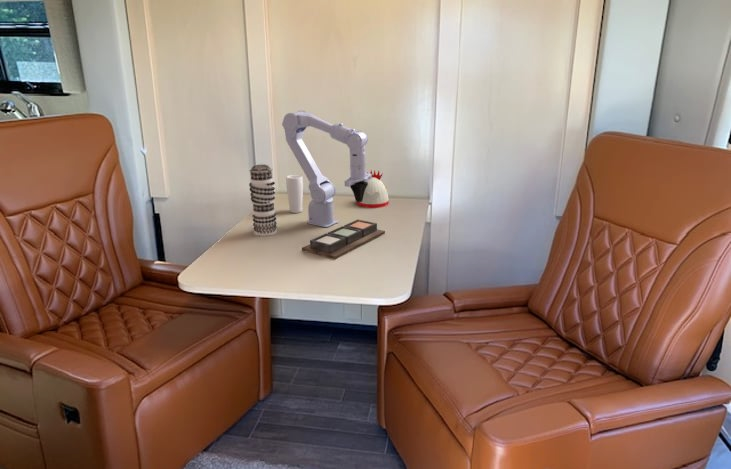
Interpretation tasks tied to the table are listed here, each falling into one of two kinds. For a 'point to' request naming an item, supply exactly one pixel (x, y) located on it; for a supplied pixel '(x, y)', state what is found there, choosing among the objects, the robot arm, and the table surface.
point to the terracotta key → (360, 225)
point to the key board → (344, 240)
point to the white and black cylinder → (263, 200)
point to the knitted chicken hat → (374, 193)
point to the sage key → (345, 232)
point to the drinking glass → (295, 192)
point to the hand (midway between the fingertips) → (359, 201)
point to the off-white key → (328, 240)
